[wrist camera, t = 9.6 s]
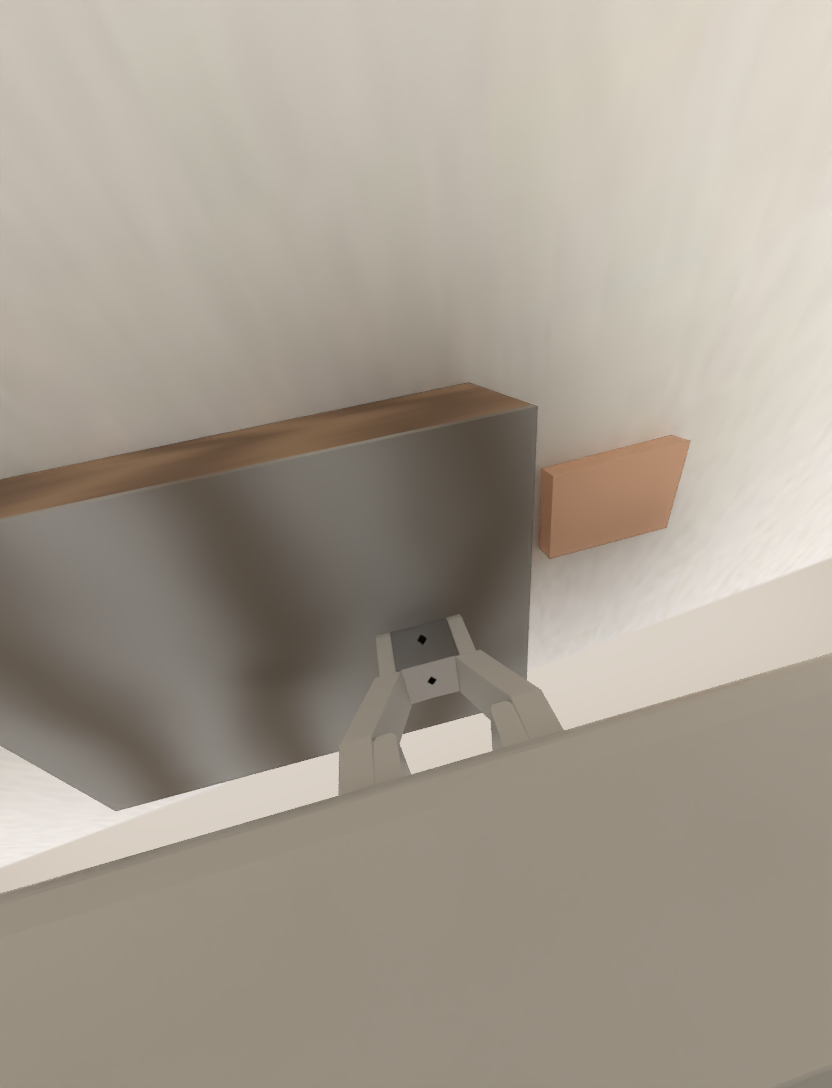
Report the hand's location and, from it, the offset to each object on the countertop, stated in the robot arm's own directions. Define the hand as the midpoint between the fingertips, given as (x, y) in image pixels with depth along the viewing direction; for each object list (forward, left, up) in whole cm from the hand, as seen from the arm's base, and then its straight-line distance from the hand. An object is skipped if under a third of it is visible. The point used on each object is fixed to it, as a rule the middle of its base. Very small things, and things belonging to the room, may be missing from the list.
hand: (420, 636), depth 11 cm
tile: (+12, 0, -6) cm, 13 cm away
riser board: (-6, 0, -7) cm, 9 cm away
